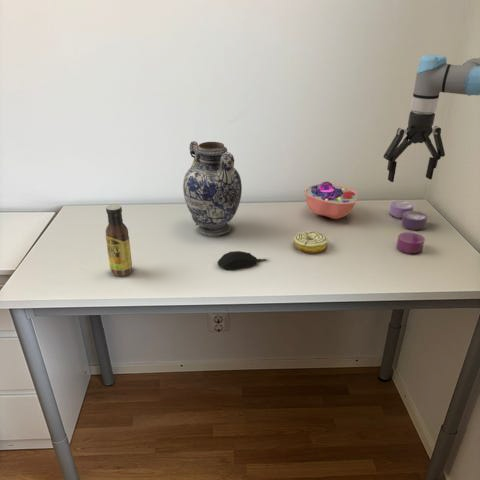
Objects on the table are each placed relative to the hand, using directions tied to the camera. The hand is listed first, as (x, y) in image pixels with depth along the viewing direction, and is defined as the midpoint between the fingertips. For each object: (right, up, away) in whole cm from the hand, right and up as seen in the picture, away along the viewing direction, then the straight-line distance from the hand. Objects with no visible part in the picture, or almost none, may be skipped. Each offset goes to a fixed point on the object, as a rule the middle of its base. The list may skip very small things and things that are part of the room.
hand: (409, 179), depth 169 cm
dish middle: (+3, -15, +5) cm, 16 cm away
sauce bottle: (-90, -33, -22) cm, 98 cm away
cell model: (-24, -10, +12) cm, 29 cm away
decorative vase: (-65, -17, +2) cm, 67 cm away
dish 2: (-3, -24, -10) cm, 27 cm away
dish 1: (+1, -9, +13) cm, 16 cm away
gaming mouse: (-55, -30, -17) cm, 65 cm away
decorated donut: (-34, -24, -8) cm, 42 cm away
